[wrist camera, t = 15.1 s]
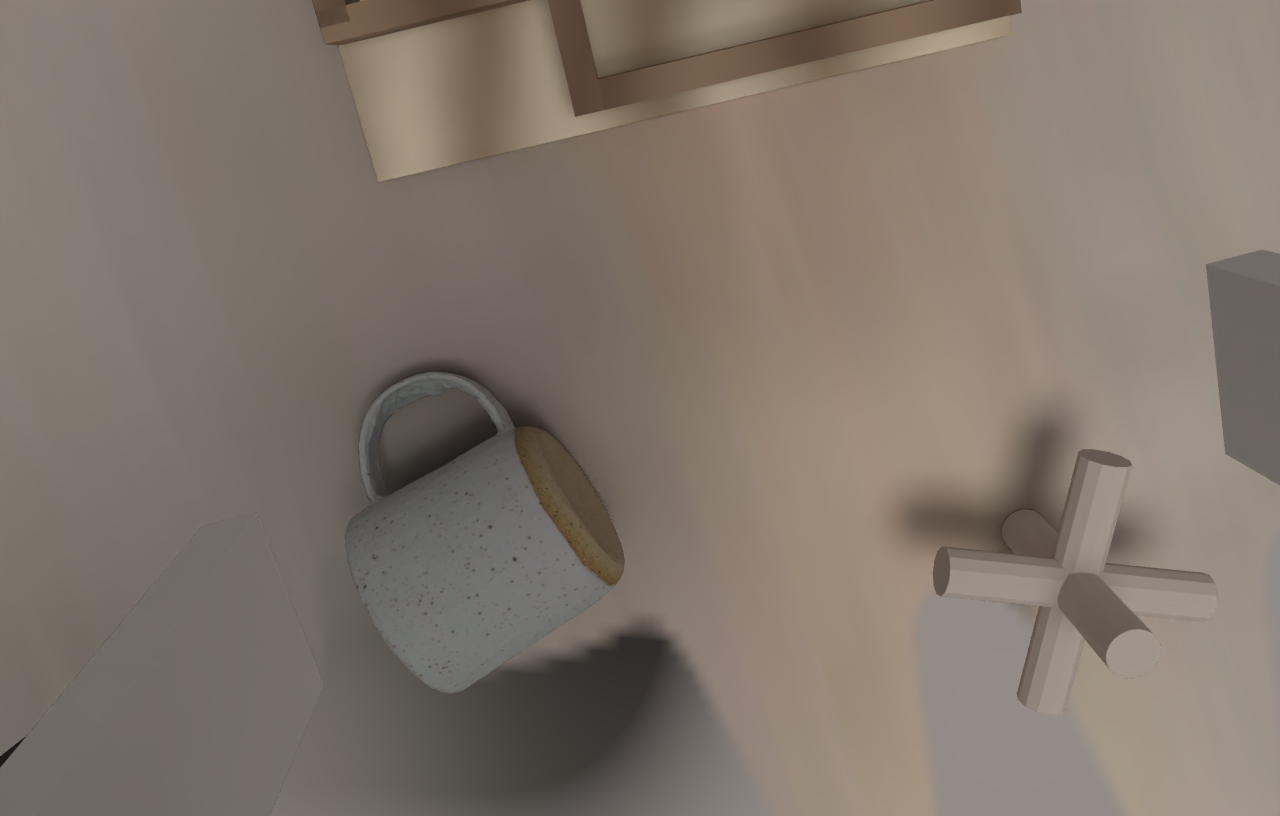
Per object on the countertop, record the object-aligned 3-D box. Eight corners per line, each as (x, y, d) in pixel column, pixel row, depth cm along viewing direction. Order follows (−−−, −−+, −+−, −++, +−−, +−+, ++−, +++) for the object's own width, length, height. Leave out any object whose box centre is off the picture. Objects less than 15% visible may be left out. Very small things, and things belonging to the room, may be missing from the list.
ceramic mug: (636, 531, 45) (641, 619, 38) (473, 632, 46) (447, 737, 39) (484, 319, 42) (458, 370, 35) (316, 432, 44) (255, 504, 36)
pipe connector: (929, 401, 44) (1019, 497, 34) (1171, 428, 44) (1325, 528, 35) (882, 625, 47) (953, 771, 37) (1110, 647, 47) (1236, 795, 38)
